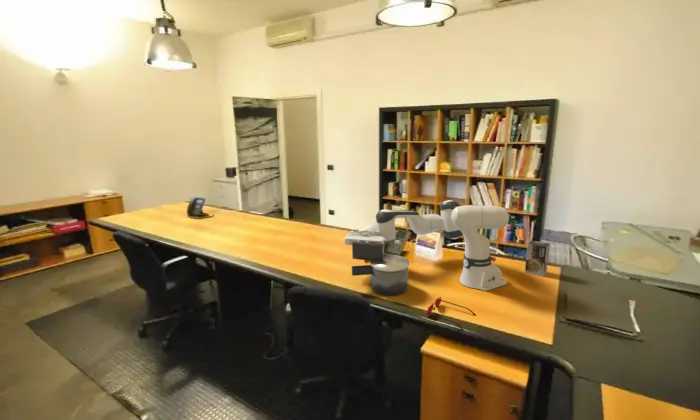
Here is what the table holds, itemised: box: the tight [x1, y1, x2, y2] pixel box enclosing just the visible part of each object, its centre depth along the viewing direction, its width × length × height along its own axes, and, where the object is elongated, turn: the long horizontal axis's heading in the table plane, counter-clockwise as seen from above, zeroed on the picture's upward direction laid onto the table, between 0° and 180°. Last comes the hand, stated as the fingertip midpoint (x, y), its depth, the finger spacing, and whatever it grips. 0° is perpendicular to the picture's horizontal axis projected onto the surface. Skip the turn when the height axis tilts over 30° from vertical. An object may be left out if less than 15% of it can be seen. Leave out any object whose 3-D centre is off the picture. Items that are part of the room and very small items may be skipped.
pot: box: [351, 264, 409, 297], centre depth 165 cm, size 27×18×12 cm, turn 96°
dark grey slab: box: [351, 241, 410, 272], centre depth 165 cm, size 27×19×9 cm
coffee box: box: [524, 239, 551, 277], centre depth 179 cm, size 9×6×16 cm
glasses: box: [424, 296, 477, 332], centre depth 141 cm, size 14×16×5 cm
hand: (360, 246), depth 169 cm, fingers closed
